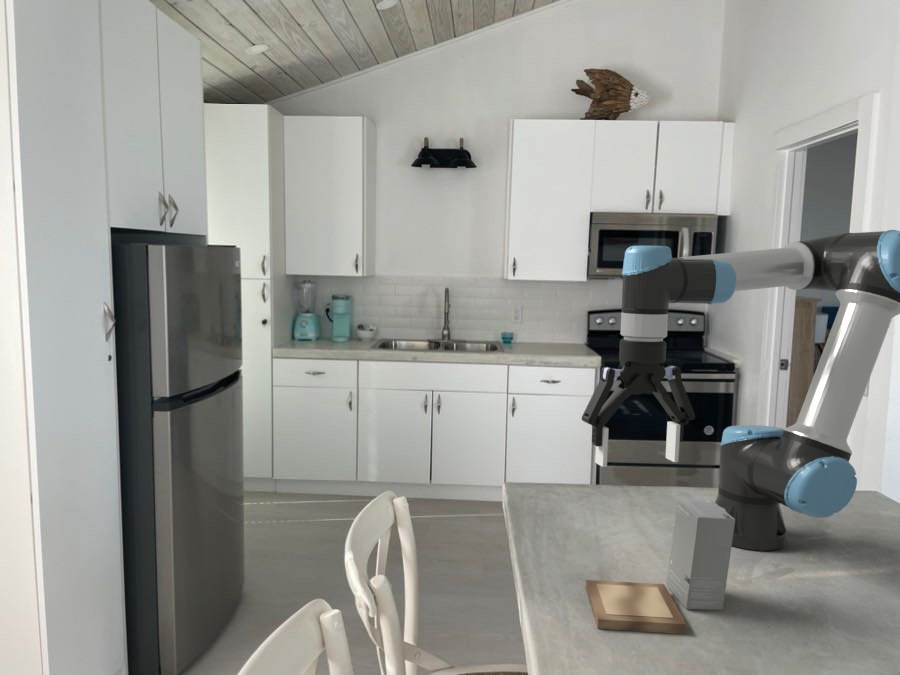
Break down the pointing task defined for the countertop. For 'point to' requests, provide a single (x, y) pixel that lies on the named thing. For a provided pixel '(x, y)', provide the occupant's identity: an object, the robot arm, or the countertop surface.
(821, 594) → the countertop surface
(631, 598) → the tan flat square board
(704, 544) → the skincare box
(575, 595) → the countertop surface
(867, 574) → the countertop surface
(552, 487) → the countertop surface
